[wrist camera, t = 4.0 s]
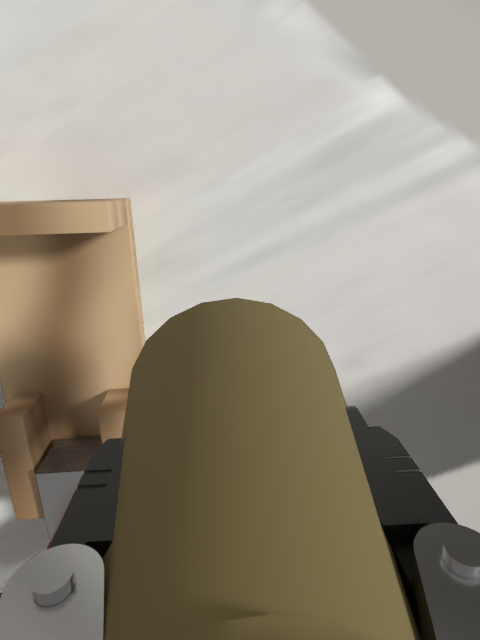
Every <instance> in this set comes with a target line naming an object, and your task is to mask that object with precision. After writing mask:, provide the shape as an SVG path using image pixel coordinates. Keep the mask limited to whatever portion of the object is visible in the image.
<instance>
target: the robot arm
mask: <svg viewBox="0 0 480 640" xmlns="http://www.w3.org/2000/svg"><path fill="white" fill-rule="evenodd" d="M345 408H346V412H347V415H348V418H349V422H350V425H351V428H352V432H353V435H354V438H355V441H356V445H357V448H358V451H359V455H360V458H361V461H362V465H363V468H364V471H365V474H366V478H367V481H368V484H369V488H370V491H371V494H372V498H373V501H374V504H375V508H376V511H377V514H378V517H379V520H380V523H381V526H382V529H383V531H384V533H385V535H386V538H387V540H388V542H389V544H390V546H391V548H392V551H393V554H394V557H395V560H396V563H397V566H398V569H399V572H400V575H401V578H402V581H403V585H404V588H405V591H406V594H407V597H408V600H409V603H410V607H411V610H412V613H413V616H414V619H415V622H416V625H417V629H418V632H419V635H420V638H421V640H480V533H479V532H477V531H475V530H472V529H470V528H468V527H465V526H462V525H458V523H457V522H456V520H455V519H454V518H453V516H452V515H451V513H450V512H449V511H448V509H447V508H446V507H445V505H444V503H443V502H442V501H441V499H440V498H439V497H438V495H437V494H436V492H435V491H434V489H433V488H432V486H431V485H430V484H429V482H428V481H427V479H426V478H425V477H424V475H423V474H422V472H419V468H418V467H417V465H416V464H415V462H414V461H413V460H412V458H410V457H409V454H408V453H407V451H406V450H405V448H404V447H403V446H402V444H401V443H400V441H399V440H398V439H397V438H396V437H394V436H393V435H391V434H390V433H388V432H387V431H386V430H384V429H383V428H381V427H380V426H379V427H368V425H367V423H366V422H365V420H364V419H363V417H362V415H361V414H360V412H359V411H358V409H357V408H356V407H355V406H347V407H345ZM124 440H125V436H124V438H123V441H122V444H121V438H112V439H107V440H106V441H105V442H104V443H103V444H102V445H101V446H100V447H99V448H98V449H97V450H96V451H94V452H93V453H92V455H91V457H90V460H89V462H88V464H87V466H86V468H85V470H84V474H83V475H82V477H81V479H80V481H79V483H78V485H77V486H78V487H77V489H76V490H75V492H74V494H73V496H72V498H71V501H70V503H69V505H68V507H67V509H66V511H65V514H64V516H63V518H62V520H61V522H60V524H59V527H58V529H57V531H56V533H55V535H54V537H53V540H52V542H51V544H50V546H49V548H48V549H47V550H45V551H43V552H41V553H39V554H37V555H36V556H34V557H33V558H31V559H30V560H28V561H27V562H26V563H24V564H23V565H22V566H21V567H20V568H19V569H18V570H17V571H16V572H15V573H14V574H13V576H12V577H11V578H10V580H9V581H8V582H7V584H6V586H5V588H4V590H3V592H2V593H0V640H104V620H105V596H106V575H105V569H104V564H103V557H104V555H105V554H106V552H107V550H108V548H109V547H110V545H111V543H112V541H113V537H114V528H115V519H116V510H117V502H118V493H119V484H120V475H121V466H122V457H123V448H124ZM120 444H121V446H120Z"/></svg>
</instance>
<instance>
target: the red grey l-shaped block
mask: <svg viewBox="0 0 480 640" xmlns="http://www.w3.org/2000/svg"><path fill="white" fill-rule="evenodd" d="M101 445H102V439H101V437H100V438H83V439H67V440H56V441H55V442H54V444H53V446H52V447H51V449H50V451H49V452H48V454H47V456H46V457H45V459H44V461H43V462H42V464H41V466H40V467H39V469H38V471H37V472H36V474H35V475H36V480H37V484H38V489H39V493H40V498H41V502H42V507H43V511H44V516H45V521H46V525H47V530H48V534H49V539H50V543H49V545H48V547H47V549H48V548H49V546H50V544H51V542H52V540H53V537H54V535H55V533H56V531H57V529H58V527H59V524H60V522H61V520H62V518H63V516H64V514H65V511H66V509H67V507H68V505H69V503H70V501H71V498H72V496H73V494H74V492H75V490H76V489H77V487H78V486H77V485H78V483H79V481H80V479H81V477H82V475H83V474H84V470H85V468H86V466H87V464H88V462H89V460H90V457H91V455H92V453H93V452H94V451H96V450H97V449H98V448H99V447H100V446H101Z"/></svg>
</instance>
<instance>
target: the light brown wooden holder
mask: <svg viewBox="0 0 480 640" xmlns="http://www.w3.org/2000/svg"><path fill="white" fill-rule="evenodd" d="M144 344H145V337H144V328H143V318H142V309H141V299H140V290H139V280H138V271H137V261H136V252H135V242H134V233H133V223H132V214H131V204H130V198H125V199H88V200H52V201H16V202H0V379H1V384H2V388H3V392H4V396H5V401H6V404H5V405H4V407H3V408H2V409H1V410H0V454H1V458H2V462H3V466H4V470H5V474H6V478H7V482H8V486H9V490H10V494H11V498H12V502H13V506H14V510H15V514H16V518H17V520H23V519H37V518H45V516H44V511H43V507H42V502H41V498H40V493H39V489H38V484H37V480H36V475H35V474H36V472H37V471H38V469H39V467H40V466H41V464H42V462H43V461H44V459H45V457H46V456H47V454H48V452H49V451H50V449H51V447H52V446H53V444H54V442H55V441H56V440H67V439H83V438H100V437H101V439H102V444H103V443H104V442H105V441H106V440H107V439H112V438H121V437H122V431H123V424H124V418H125V411H126V404H127V398H128V391H129V385H130V378H131V372H132V368H133V366H134V364H135V362H136V360H137V358H138V356H139V354H140V352H141V350H142V348H143V346H144Z"/></svg>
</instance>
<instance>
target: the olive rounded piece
mask: <svg viewBox="0 0 480 640" xmlns="http://www.w3.org/2000/svg"><path fill="white" fill-rule="evenodd" d="M345 407H347V405H346V402H345V399H344V396H343V393H342V390H341V387H340V384H339V380H338V377H337V374H336V371H335V368H334V366H333V364H332V361H331V359H330V357H329V355H328V352H327V350H326V348H325V345H324V343H323V342H322V341H321V339H320V338H319V337H318V336H317V335H316V334H315V333H314V332H313V331H312V330H311V329H310V328H309V327H308V326H307V325H306V324H305V323H304V322H303V321H302V320H301V319H300V318H298V317H296V316H294V315H292V314H290V313H288V312H286V311H284V310H282V309H281V308H279V307H277V306H275V305H273V304H270V303H264V302H258V301H252V300H246V299H240V298H233V299H226V300H219V301H212V302H205V303H200V304H198V305H196V306H194V307H192V308H190V309H188V310H186V311H184V312H182V313H179V314H177V315H175V316H173V317H171V318H170V319H169V320H168V321H166V322H165V323H164V324H163V325H162V326H161V327H160V328H159V329H158V330H157V331H156V332H155V333H154V334H153V335H152V336H151V337H150V338H149V339H148V340H147V341H146V342H145V344H144V346H143V348H142V350H141V352H140V354H139V356H138V358H137V360H136V362H135V364H134V366H133V368H132V372H131V378H130V385H129V391H128V398H127V404H126V411H125V418H124V424H123V431H122V437H121V444H122V441H123V438H124V436H125V440H124V448H123V457H122V466H121V475H120V484H119V493H118V502H117V510H116V519H115V528H114V537H113V541H112V543H111V545H110V547H109V548H108V550H107V552H106V554H105V555H104V557H103V564H104V569H105V575H106V596H105V620H104V640H421V638H420V635H419V632H418V629H417V625H416V622H415V619H414V616H413V613H412V610H411V607H410V603H409V600H408V597H407V594H406V591H405V588H404V585H403V581H402V578H401V575H400V572H399V569H398V566H397V563H396V560H395V557H394V554H393V551H392V548H391V546H390V544H389V542H388V540H387V538H386V535H385V533H384V531H383V529H382V526H381V523H380V520H379V517H378V514H377V511H376V508H375V504H374V501H373V498H372V494H371V491H370V488H369V484H368V481H367V478H366V474H365V471H364V468H363V465H362V461H361V458H360V455H359V451H358V448H357V445H356V441H355V438H354V435H353V432H352V428H351V425H350V422H349V418H348V415H347V412H346V408H345ZM121 444H120V446H121Z"/></svg>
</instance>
